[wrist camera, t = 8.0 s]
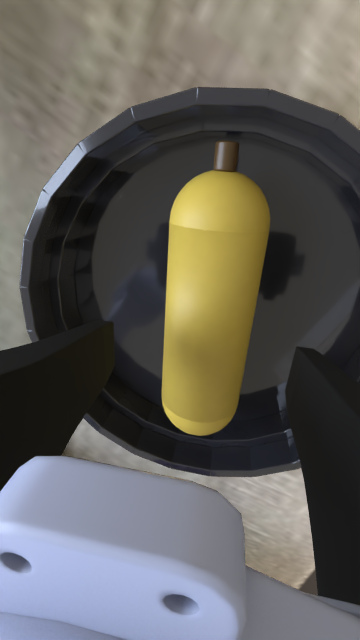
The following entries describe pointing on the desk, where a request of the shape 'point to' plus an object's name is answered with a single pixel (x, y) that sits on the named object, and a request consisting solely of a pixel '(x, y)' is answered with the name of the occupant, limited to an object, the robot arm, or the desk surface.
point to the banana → (211, 292)
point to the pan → (152, 258)
